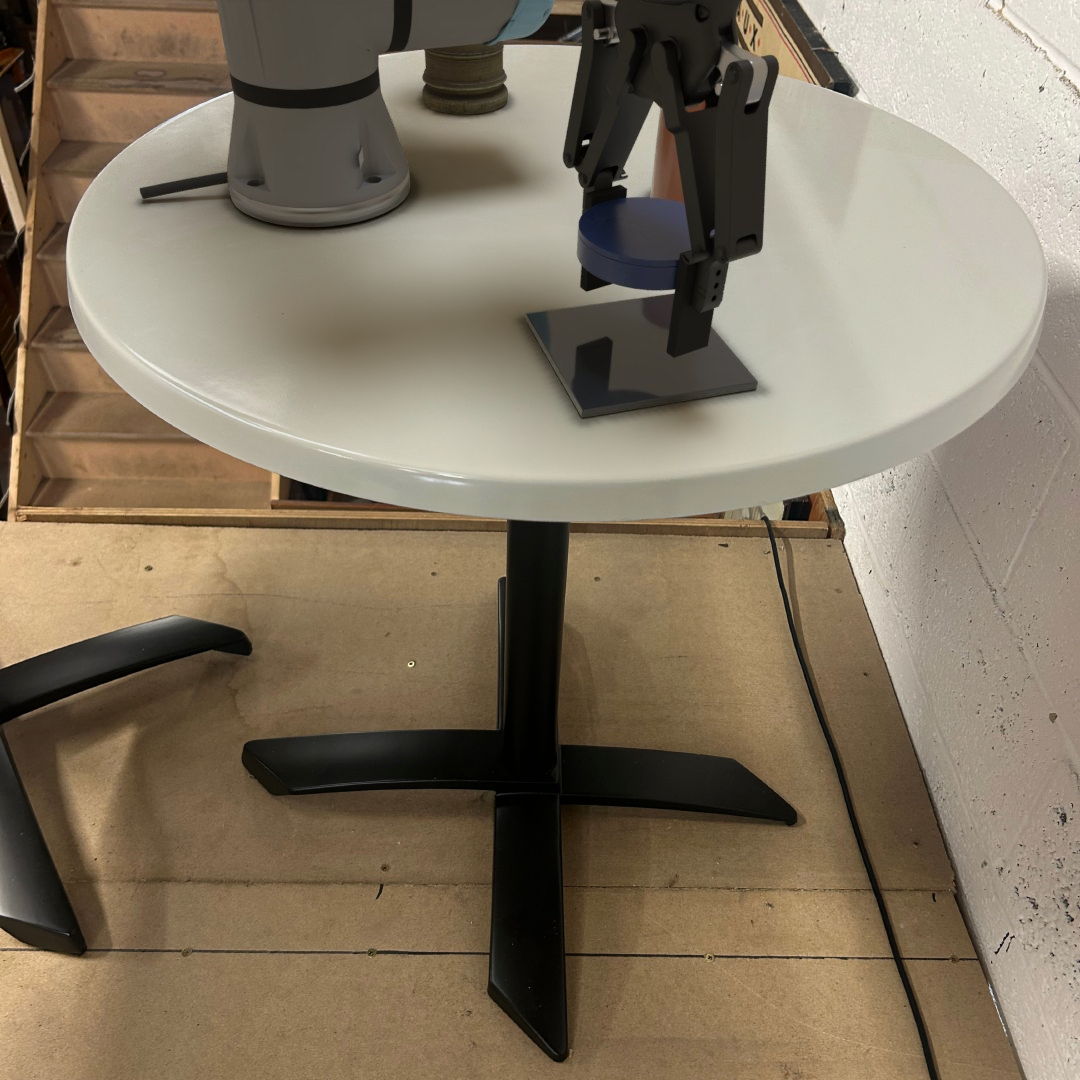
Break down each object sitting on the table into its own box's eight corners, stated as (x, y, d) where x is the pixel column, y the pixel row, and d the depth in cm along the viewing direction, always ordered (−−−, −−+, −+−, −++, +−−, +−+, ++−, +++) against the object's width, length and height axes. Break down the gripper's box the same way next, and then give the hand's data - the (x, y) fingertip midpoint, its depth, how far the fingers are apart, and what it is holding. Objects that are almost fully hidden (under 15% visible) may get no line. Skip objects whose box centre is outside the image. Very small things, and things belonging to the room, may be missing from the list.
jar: (661, 226, 76) (679, 76, 68) (641, 186, 82) (655, 44, 74) (753, 223, 77) (782, 75, 69) (727, 184, 83) (751, 43, 75)
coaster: (581, 418, 56) (582, 410, 56) (525, 320, 64) (525, 313, 64) (756, 389, 59) (758, 381, 59) (681, 299, 67) (682, 291, 67)
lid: (745, 254, 57) (750, 224, 56) (670, 306, 52) (675, 276, 51) (628, 213, 61) (630, 185, 60) (548, 259, 56) (549, 229, 55)
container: (420, 114, 93) (407, -98, 81) (425, 85, 100) (414, -116, 87) (508, 116, 93) (509, -96, 81) (507, 87, 100) (508, -113, 88)
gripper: (916, -67, 39) (799, 379, 55) (620, -139, 52) (594, 238, 68) (787, -51, 36) (702, 416, 52) (507, -132, 49) (507, 261, 65)
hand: (641, 315), depth 60 cm, fingers closed on lid, 9 cm apart
